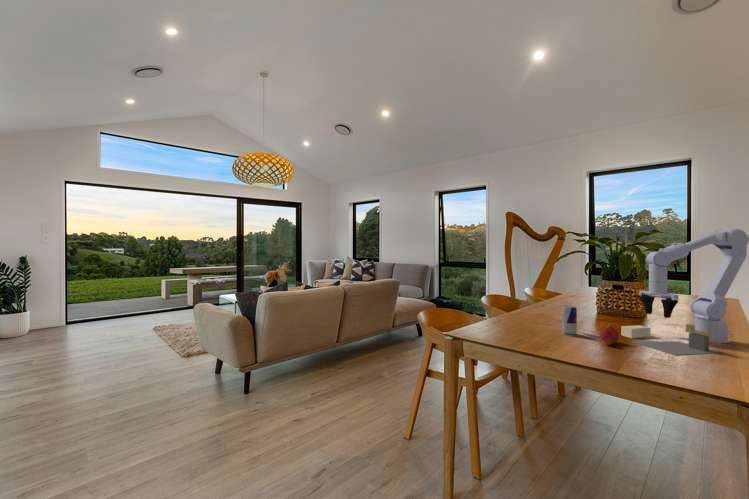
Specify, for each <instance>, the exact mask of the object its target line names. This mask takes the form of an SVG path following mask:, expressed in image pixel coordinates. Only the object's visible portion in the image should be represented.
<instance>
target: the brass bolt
mask: <svg viewBox="0 0 749 499" xmlns="http://www.w3.org/2000/svg"><path fill="white" fill-rule="evenodd" d="M685 332H687V333H695V334H700V335H704V336H708V337H715V334H713V333H708V332H703V331H699V330H695V324H691V323H687V324H685Z"/></svg>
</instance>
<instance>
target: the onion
mask: <svg viewBox="0 0 749 499" xmlns="http://www.w3.org/2000/svg"><path fill="white" fill-rule="evenodd" d="M599 336H600V338H601V340H602V341H603V342H604V343H605V344H606V345H607V346H612V345H613V344H615V343H616V342H618V340H619V338H620V335H619V332H618V330H617V328H614V327H613V326H612V324H611V323H609V324H608V325H606V326H604V327H603V328H602V329H601V330H600V335H599Z"/></svg>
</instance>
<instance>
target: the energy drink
mask: <svg viewBox="0 0 749 499" xmlns="http://www.w3.org/2000/svg"><path fill="white" fill-rule="evenodd" d="M577 315H578V308H577V306H574V305H568V304H567V305H566V304H564V305H562V306H561V335H563V336H565V335H566V336H565V337H576V336H577V327H578V326H577V324H578V323H577V322H578V320H577V317H578V316H577Z"/></svg>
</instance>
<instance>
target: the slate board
mask: <svg viewBox="0 0 749 499" xmlns="http://www.w3.org/2000/svg"><path fill="white" fill-rule="evenodd" d="M688 333H689V334H688V343H686V342H682V341H669V340H668V341H658V340H657V341H656V340H653V341H648V340H647V341H646V340H642V341H641V340H637V341H636V340H630V341H629V342H630V343H634V344H637V345H640V346H643V347H647V348H650V349H653V350H656V351H660V352H662V353H666V354H668V355H672V356H676V357H678V356H690V355H691V356H692V355H693V356H694V355H705V354H706V355H707V354H720V353H721V352H720V351H717V350H714V349H710V341H709V337H708V336H704V335H700V334H695V333H690V332H688Z"/></svg>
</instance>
